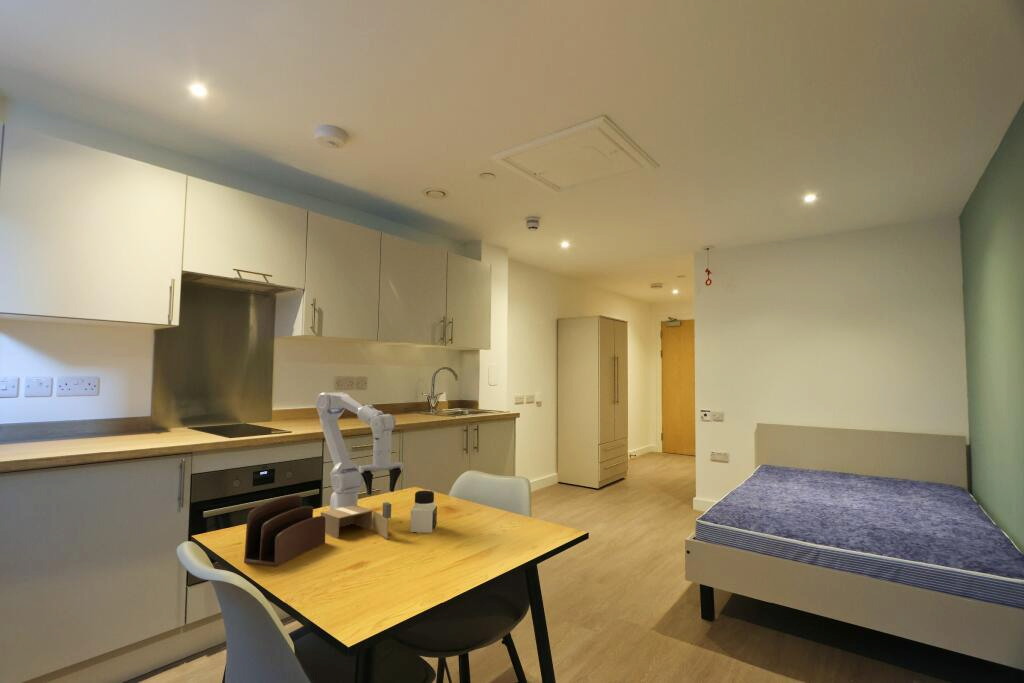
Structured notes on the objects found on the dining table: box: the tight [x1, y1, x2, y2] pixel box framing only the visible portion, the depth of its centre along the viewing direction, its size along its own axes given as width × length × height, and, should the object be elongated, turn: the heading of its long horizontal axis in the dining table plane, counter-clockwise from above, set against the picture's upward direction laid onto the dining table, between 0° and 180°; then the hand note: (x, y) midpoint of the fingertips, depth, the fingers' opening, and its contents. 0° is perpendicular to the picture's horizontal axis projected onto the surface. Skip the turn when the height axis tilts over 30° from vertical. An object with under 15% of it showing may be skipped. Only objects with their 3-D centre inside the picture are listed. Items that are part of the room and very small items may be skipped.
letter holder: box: [243, 494, 326, 568], centre depth 135 cm, size 10×20×14 cm, turn 164°
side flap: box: [372, 501, 392, 540], centre depth 151 cm, size 2×12×10 cm, turn 36°
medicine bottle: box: [409, 489, 438, 534], centre depth 156 cm, size 7×7×12 cm
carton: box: [320, 504, 374, 539], centre depth 154 cm, size 10×12×6 cm
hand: (380, 492), depth 162 cm, fingers open, 7 cm apart
